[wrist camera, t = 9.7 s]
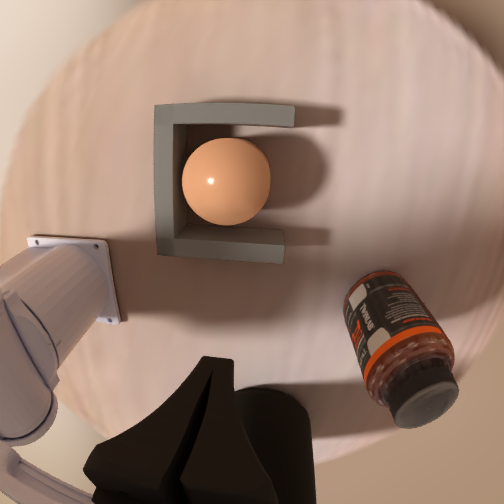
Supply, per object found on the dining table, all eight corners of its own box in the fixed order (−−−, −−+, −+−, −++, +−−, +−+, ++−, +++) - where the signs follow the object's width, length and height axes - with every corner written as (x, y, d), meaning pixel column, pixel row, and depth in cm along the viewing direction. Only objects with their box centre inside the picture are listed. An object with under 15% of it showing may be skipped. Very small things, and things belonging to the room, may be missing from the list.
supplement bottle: (329, 290, 22) (364, 406, 12) (396, 254, 21) (473, 347, 10) (355, 341, 24) (388, 449, 14) (415, 310, 23) (474, 405, 12)
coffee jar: (190, 397, 28) (149, 553, 11) (286, 370, 26) (289, 564, 9) (238, 445, 31) (224, 573, 15) (321, 426, 29) (334, 569, 12)
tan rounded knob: (195, 208, 21) (182, 222, 17) (197, 136, 19) (183, 137, 16) (267, 213, 20) (267, 228, 17) (273, 140, 19) (273, 140, 15)
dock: (171, 239, 22) (157, 255, 19) (170, 108, 18) (154, 105, 15) (281, 246, 21) (283, 263, 18) (291, 110, 18) (295, 105, 15)
